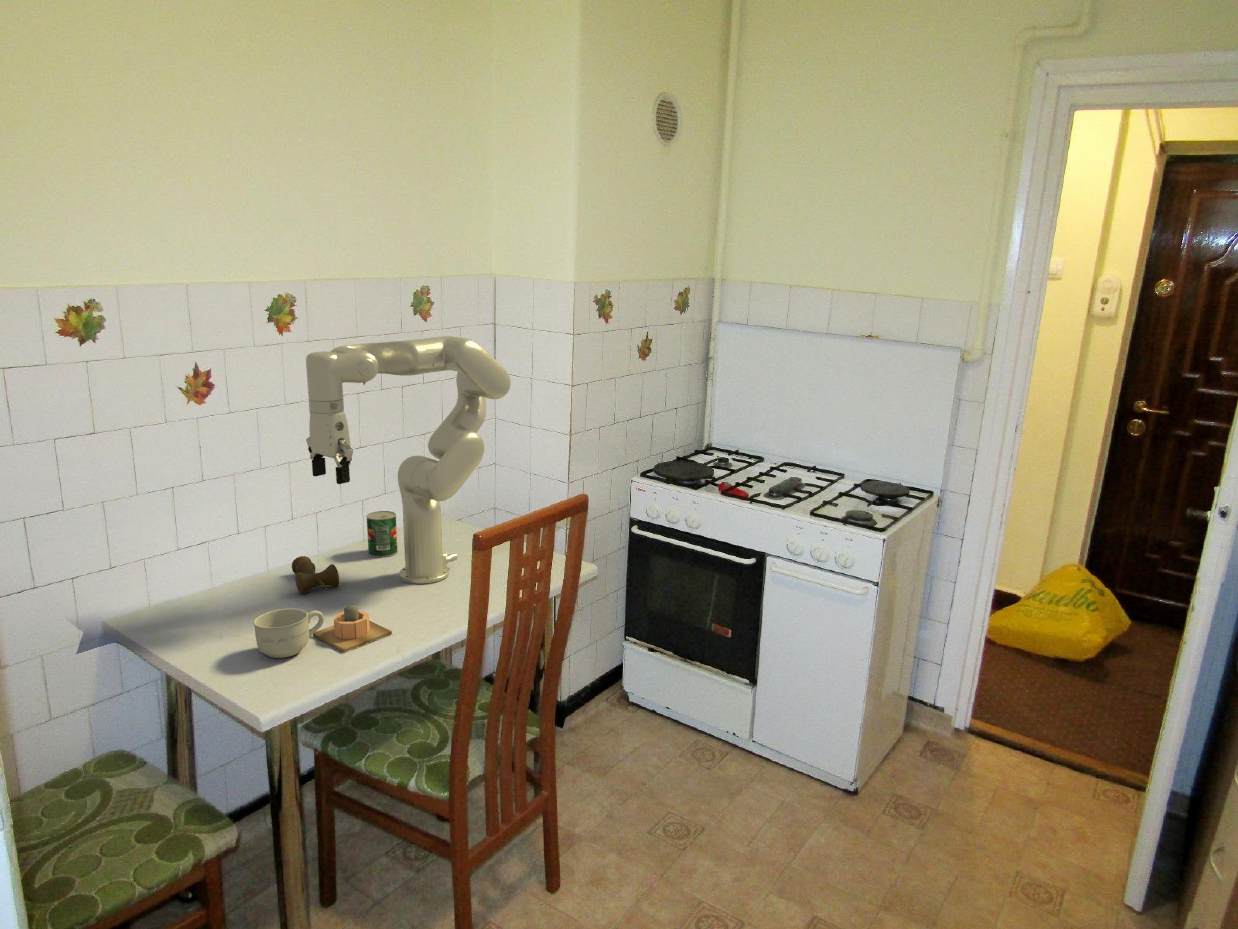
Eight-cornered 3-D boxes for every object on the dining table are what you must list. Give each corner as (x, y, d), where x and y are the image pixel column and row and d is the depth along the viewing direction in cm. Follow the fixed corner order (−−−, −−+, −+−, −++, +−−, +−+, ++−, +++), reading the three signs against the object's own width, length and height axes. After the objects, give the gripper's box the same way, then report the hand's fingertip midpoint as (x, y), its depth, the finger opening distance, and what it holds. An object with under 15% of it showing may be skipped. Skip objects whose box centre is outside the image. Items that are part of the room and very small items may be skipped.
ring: (356, 622, 199) (355, 607, 198) (375, 631, 195) (374, 616, 194) (329, 632, 194) (328, 617, 193) (347, 642, 190) (346, 626, 189)
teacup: (257, 667, 180) (254, 631, 178) (255, 645, 189) (252, 610, 187) (328, 655, 185) (326, 620, 183) (323, 634, 195) (321, 601, 193)
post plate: (360, 619, 203) (358, 593, 201) (391, 634, 195) (390, 607, 194) (313, 636, 194) (311, 609, 192) (344, 652, 186) (342, 624, 185)
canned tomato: (363, 552, 246) (361, 514, 243) (388, 546, 251) (387, 508, 248) (377, 559, 240) (375, 521, 237) (403, 553, 245) (401, 515, 243)
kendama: (320, 571, 233) (346, 594, 217) (283, 579, 227) (306, 603, 212) (318, 549, 231) (344, 571, 216) (280, 557, 226) (303, 580, 210)
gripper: (363, 409, 199) (367, 482, 203) (320, 399, 209) (324, 469, 214) (333, 414, 193) (338, 489, 197) (290, 403, 204) (296, 475, 208)
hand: (331, 479), depth 205 cm, fingers open, 9 cm apart
